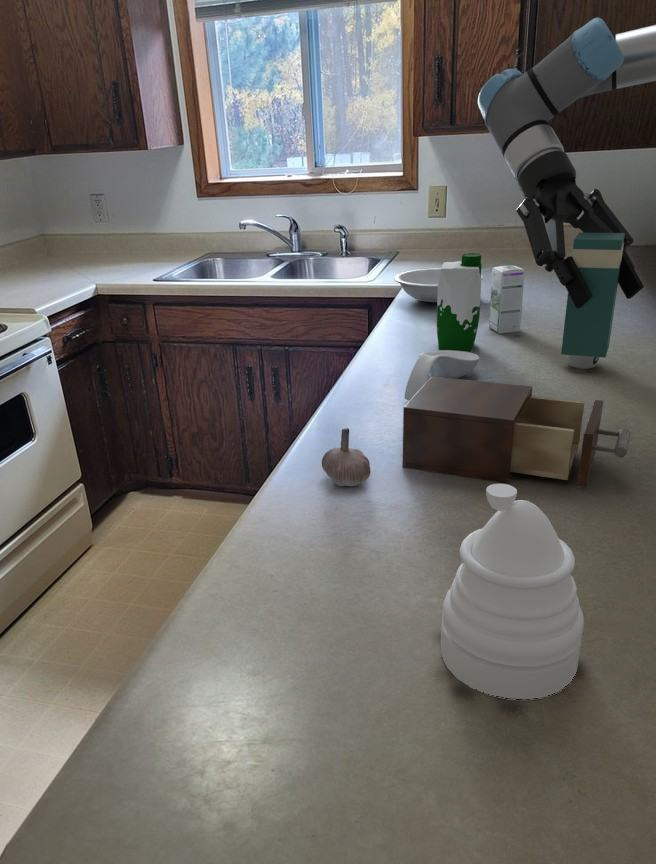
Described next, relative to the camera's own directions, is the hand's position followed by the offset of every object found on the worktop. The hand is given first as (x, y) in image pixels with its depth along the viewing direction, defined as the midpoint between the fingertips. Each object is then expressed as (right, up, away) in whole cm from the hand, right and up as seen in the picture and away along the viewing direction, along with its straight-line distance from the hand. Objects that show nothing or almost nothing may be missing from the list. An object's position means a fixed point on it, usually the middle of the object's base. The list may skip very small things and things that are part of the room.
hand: (610, 297), depth 101 cm
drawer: (-6, -23, +6) cm, 24 cm away
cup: (+15, -2, +48) cm, 51 cm away
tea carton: (-1, -6, +6) cm, 9 cm away
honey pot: (-23, -42, -29) cm, 56 cm away
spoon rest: (-15, -7, +42) cm, 45 cm away
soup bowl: (-4, +25, +104) cm, 107 cm away
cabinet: (-17, -21, +12) cm, 30 cm away
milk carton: (-7, +4, +63) cm, 64 cm away
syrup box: (+6, +10, +74) cm, 75 cm away
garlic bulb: (-36, -25, +7) cm, 44 cm away
